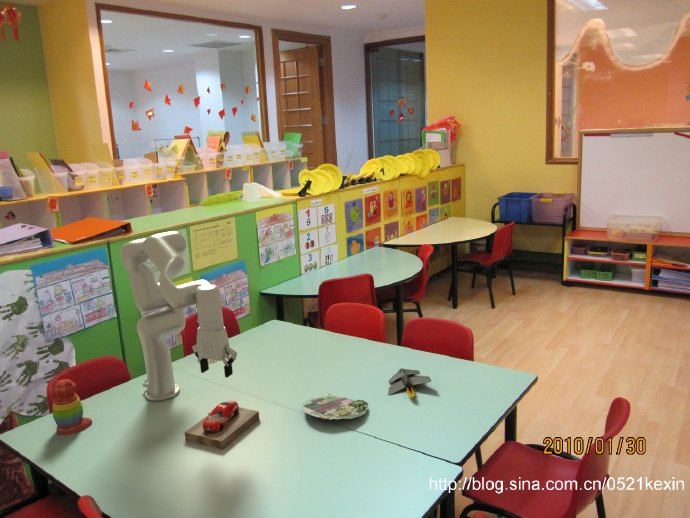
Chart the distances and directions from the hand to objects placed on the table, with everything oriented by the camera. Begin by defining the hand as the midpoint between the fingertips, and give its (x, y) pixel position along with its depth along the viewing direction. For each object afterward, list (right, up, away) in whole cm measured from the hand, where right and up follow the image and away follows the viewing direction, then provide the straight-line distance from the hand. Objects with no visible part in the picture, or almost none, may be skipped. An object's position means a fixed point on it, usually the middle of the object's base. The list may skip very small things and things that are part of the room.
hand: (216, 373), depth 187 cm
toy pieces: (-17, -7, +64) cm, 66 cm away
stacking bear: (-52, -21, +12) cm, 58 cm away
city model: (+39, -16, +13) cm, 44 cm away
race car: (+1, -17, +4) cm, 17 cm away
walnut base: (+1, -20, +5) cm, 20 cm away
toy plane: (+64, -11, +28) cm, 71 cm away
